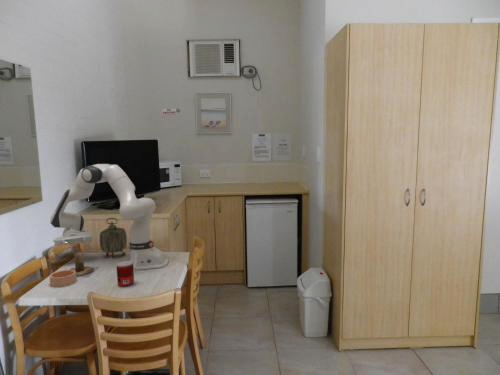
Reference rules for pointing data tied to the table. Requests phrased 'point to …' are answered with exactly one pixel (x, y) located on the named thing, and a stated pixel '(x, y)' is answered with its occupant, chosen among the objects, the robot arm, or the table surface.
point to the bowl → (63, 278)
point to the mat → (90, 273)
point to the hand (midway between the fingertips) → (75, 242)
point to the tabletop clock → (113, 239)
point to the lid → (81, 265)
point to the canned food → (125, 273)
